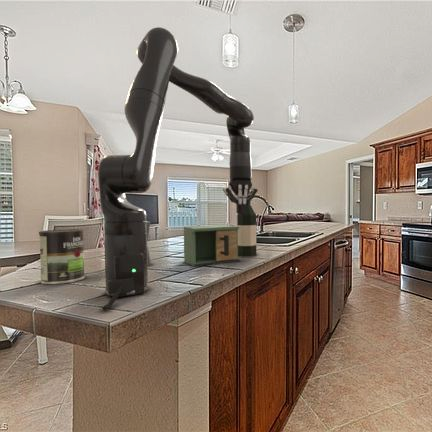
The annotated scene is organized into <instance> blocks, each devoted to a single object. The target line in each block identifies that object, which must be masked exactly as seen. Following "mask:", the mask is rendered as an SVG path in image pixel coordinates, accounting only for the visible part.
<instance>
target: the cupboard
mask: <svg viewBox="0 0 432 432" xmlns="http://www.w3.org/2000/svg"><path fill="white" fill-rule="evenodd" d="M238 229H239V226H237V225H232V224H214V225H194V226H193V225H192V226H183V262H184V263H185V264H187V265H189V266H192V267H203V266H204V267H205V266H211V265H220V264H221V265H222V264H228V263H237V262H240V259H239V256H238ZM230 230H236V242H237V259H231V260H222V261H216V231H230Z"/></svg>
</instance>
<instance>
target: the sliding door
mask: <svg viewBox="0 0 432 432" xmlns="http://www.w3.org/2000/svg"><path fill="white" fill-rule="evenodd" d="M231 259H237V242H236V230H230V231H216V261H222V260H231Z"/></svg>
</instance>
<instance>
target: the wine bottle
mask: <svg viewBox="0 0 432 432" xmlns="http://www.w3.org/2000/svg"><path fill="white" fill-rule="evenodd" d="M249 193H250V190H249V192H248V193H247V196H248V194H249ZM251 201H252V200H251ZM251 201H250V202H248V203H246V205H245V213H244V215H238V214H237V215H236V217H237V218H236V221H237V223H236V224H237V225H236V226H239V229H238V257H254V256H257V214H256V212H255V210H254V208H253V206H252V205H251V203H252V202H251Z"/></svg>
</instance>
